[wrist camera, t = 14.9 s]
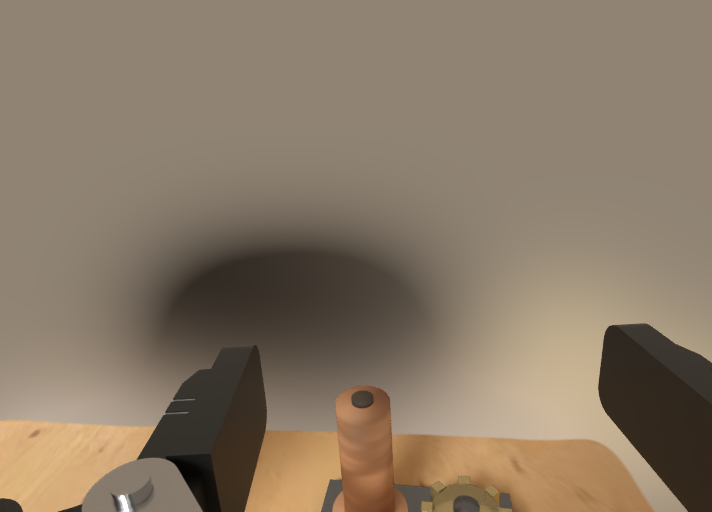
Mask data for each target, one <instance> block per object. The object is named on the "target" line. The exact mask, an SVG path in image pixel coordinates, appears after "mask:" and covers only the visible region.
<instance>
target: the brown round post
mask: <svg viewBox="0 0 712 512" xmlns="http://www.w3.org/2000/svg"><path fill="white" fill-rule="evenodd" d="M335 407H336V417H337V429H338V440H339V451H340V463H341V474H342V485H343V491H342V492H341V493H340V494H339V495H338V497H337V498H336V500H335V502H334V505H333V510H332V512H408V507H407V502H406V500H405V498H404V496H403V495H402V493H401V492H400V491H399V490H398V489H397V488H395V487H394V475H393V454H392V433H391V414H390V413H391V412H390V398H389V396H388V395H387V393H386V392H384V391H383V390H381V389H379V388H376V387H372V386H358V387H353V388H350V389H347V390H345V391H344V392H342V393H341V394H340V395H339V396H338V397H337V399H336V402H335Z"/></svg>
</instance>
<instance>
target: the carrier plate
mask: <svg viewBox="0 0 712 512" xmlns="http://www.w3.org/2000/svg"><path fill="white" fill-rule="evenodd" d="M394 487H395V488H397V489H398V490H399V491H400V492H401V493H402V495H403V496H404V498H405V500H406V502H407V507H408V512H421V506H422V501H424V502H431V487H419V486H407V485H394ZM342 491H343V485H342V480H331V479H330V482H329V485H328V489H327V492H326V496H325V500H324V503H323V507H322V510H321V512H332V510H333V505H334V502H335V500H336V498H337V497H338V495H339V494H340V493H341V492H342ZM499 506H500V508H506V509H512V505H511V500H510V495H509V494H507V493H500V495H499ZM512 512H513V511H512Z"/></svg>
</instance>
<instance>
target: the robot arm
mask: <svg viewBox="0 0 712 512" xmlns="http://www.w3.org/2000/svg"><path fill="white" fill-rule="evenodd" d="M598 390H599V397H600V401H601V404H602V406H603V408H604V410H605V412H606V413H607V415H608V416H609V417H610V418H611V420H612V421H613V422H614V423H615V424H616V425H617V427H618V428H619V429H620V430H621V432H623V434H624V435H625V436H626V437H627V439H628V440H629V441H630V442H631V444H632V445H633V446H634V447H635V448H636V449H637V451H638V452H639V453H640V454H641V455H642V457H643V458H644V459H645V460H646V461H647V463H648V464H649V465H650V466H651V467H652V469H653V470H654V471H655V472H656V473H657V475H658V476H659V477H660V478H661V479H662V481H663V482H664V483H665V484H666V485H667V487H668V488H669V489H670V490H671V491H672V493H673V494H674V495H675V496H676V497H677V499H678V500H679V501H680V502H681V503H682V505H683V506H684V507H685V508H686V509H687V511H688V512H712V363H711V362H710V361H708V360H707V359H705V358H704V357H702V356H701V355H699V354H697V353H695V352H693V351H690V350H688V349H686V348H683V347H681V346H679V345H677V344H675V343H673V342H672V341H670V340H669V339H668V338H666V337H665V336H663V335H662V334H661V333H660V332H658V331H657V330H655V329H654V328H653V327H651V326H650V325H648V324H628V325H627V324H626V325H612V326H609V327H608V328H607V330H606V332H605V335H604V342H603V351H602V359H601V367H600V377H599V387H598ZM165 413H166V414H165V415H163V417H162V418H161V420H160V422H159V424H158V425H157V427H156V428H155V430H154V432H153V433H152V435H151V437H150V438H149V440H148V442H147V443H146V445H145V447H144V448H143V450H142V452H141V453H140V455H139V457H138V458H137V460H135V461H132V462H129V463H127V464H124V465H122V466H120V467H118V468H116V469H114V470H112V471H111V472H109V473H108V474H106V475H105V476H104V477H102V478H101V479H100V480H99V481H98V482H97V483H95V484H94V486H93V487H92V488H91V489H90V490H89V492H88V493H87V495H86V497H85V499H84V501H83V504H81V505H78V506H75V507H72V508H69V509H66V510H62V511H59V512H244V511H245V507H246V503H247V500H248V496H249V492H250V488H251V484H252V480H253V476H254V472H255V469H256V465H257V461H258V457H259V453H260V449H261V445H262V441H263V438H264V434H265V429H266V418H267V409H266V399H265V391H264V384H263V377H262V370H261V363H260V355H259V350H258V348H257V346H256V345H246V346H229V347H223V348H222V349H221V351H220V353H219V355H218V357H217V359H216V361H215V363H214V365H213V366H212V368H211V369H206V370H199V371H197V372H196V373H195V374H194V375H193V376H191V377H190V378H189V379H187V380H186V381H185V382H184V383H183V384H182V385H181V387H180V389H179V390H178V392H177V393H176V395H175V397H174V398H173V402H171V403H170V405H169V407H168V408H167V410H166V412H165ZM0 512H23V510H22V508H21V506H20V504H18V503H17V502H16V501H14V500H11V499H4V498H1V499H0Z"/></svg>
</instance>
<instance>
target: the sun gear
mask: <svg viewBox="0 0 712 512" xmlns="http://www.w3.org/2000/svg"><path fill="white" fill-rule="evenodd" d="M499 495H500V491H499V490H497V489H496V488H494V487H493V486H492V485H489V486H488V487H487V488H485V489H484V490H483V489H481V488H479V487H477V486H474V485H470V479H469V477H466V476H458V484H453V485H449V486H447V487H446V486H444V485H443V484H442V483H441V482H440V481H437V482H436V483H434V484H433V485H431V502H424V501H422V506H421V512H512V509H506V508H500V506H499Z"/></svg>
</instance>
